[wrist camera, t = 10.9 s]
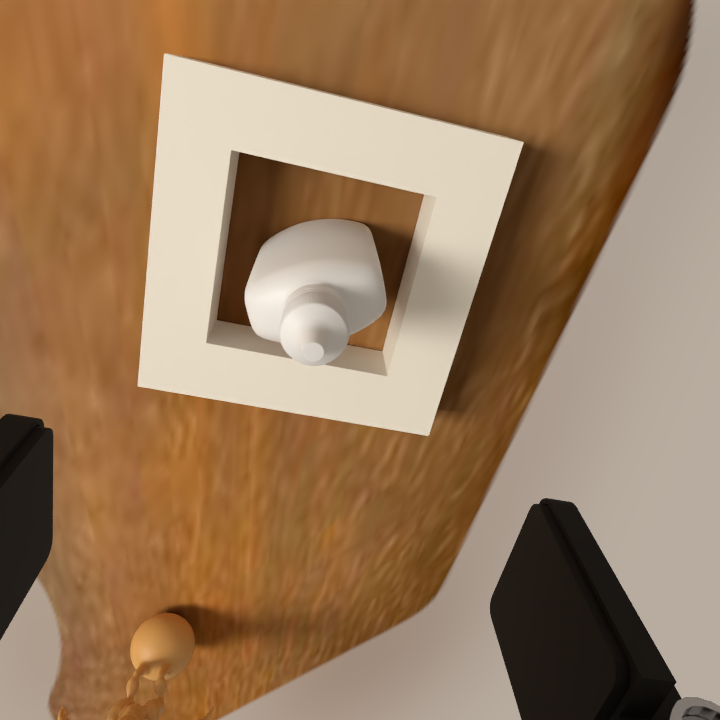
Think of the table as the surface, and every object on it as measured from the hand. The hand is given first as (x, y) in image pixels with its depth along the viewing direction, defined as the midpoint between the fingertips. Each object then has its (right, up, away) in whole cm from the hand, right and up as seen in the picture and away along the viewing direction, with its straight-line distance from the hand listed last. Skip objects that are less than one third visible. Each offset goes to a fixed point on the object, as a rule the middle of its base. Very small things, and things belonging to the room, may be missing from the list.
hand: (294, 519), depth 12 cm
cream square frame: (-1, +8, +18) cm, 20 cm away
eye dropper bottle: (-1, +9, +19) cm, 21 cm away
